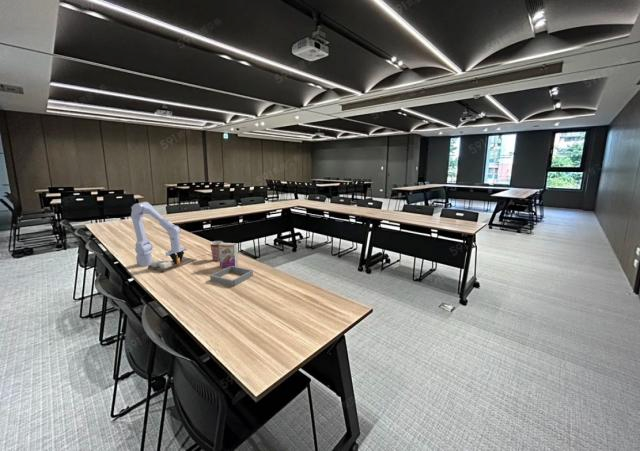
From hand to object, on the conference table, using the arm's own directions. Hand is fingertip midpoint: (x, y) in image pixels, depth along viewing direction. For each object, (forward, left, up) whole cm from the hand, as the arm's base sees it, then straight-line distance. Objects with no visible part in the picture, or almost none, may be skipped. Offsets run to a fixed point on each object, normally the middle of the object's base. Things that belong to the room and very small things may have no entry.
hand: (177, 262), depth 187 cm
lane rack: (-4, 0, -2) cm, 4 cm away
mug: (+16, +23, -3) cm, 28 cm away
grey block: (-7, -10, -1) cm, 12 cm away
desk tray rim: (+48, +1, -2) cm, 48 cm away
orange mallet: (0, -5, -1) cm, 5 cm away
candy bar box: (+32, +15, -3) cm, 35 cm away
